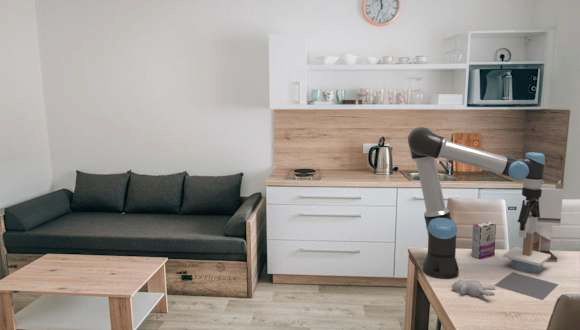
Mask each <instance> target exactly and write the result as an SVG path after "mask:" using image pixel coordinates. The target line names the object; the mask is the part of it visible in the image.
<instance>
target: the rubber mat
mask: <svg viewBox="0 0 580 330" xmlns="http://www.w3.org/2000/svg"><path fill="white" fill-rule="evenodd" d="M559 285H560V284H558V283H555V282H552V281H547V280H543V279H540V278H537V277H532V276H529V275H526V274H522V273H518V272H513V271H511V273H509V274H508V275H506V276H505V277H504V278H502V279H501V280H499V281H498V282H497V283H495V284H494V287H498V288H502V289H504V290H507V291H510V292H515V293H516V294H517V293H518V294H520V295H525V296H528V297H532V298H534V299H536V300H537V299H538V300H541V301H543V300H545V299H546V298H547V297H548V295H550V294H551V293H552V292H553V291H554V290H555V289H556V288H557V287H558V286H559Z"/></svg>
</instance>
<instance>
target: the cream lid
mask: <svg viewBox="0 0 580 330" xmlns="http://www.w3.org/2000/svg"><path fill="white" fill-rule="evenodd" d="M533 234H534V233H529V232H526V238H522V239H523V243H522V247H518V246H514V247H512V248H511V249H510V250H508V251H507V252H505V253H504V254H503V255H502V257H503V258H505V259H509V260H511V259H513V260H517V261H521V262H525V263H529V264H533V265H537V266H541V265H542V266H543V264H544V263H545V262H546V261H547V260H548V259H549V258H550V257H551V255H550V254H546V253H541V252H537V251H532V246H533Z"/></svg>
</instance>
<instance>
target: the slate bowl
mask: <svg viewBox="0 0 580 330" xmlns="http://www.w3.org/2000/svg"><path fill="white" fill-rule="evenodd" d="M510 265H511V267H512V268H513V269H515V270H518V271H521V272H525V273H540V272H542V269H543V264H542V265H541V266H537V265H533V264H529V263H525V262H521V261H517V260H513V259H510Z"/></svg>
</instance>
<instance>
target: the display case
mask: <svg viewBox="0 0 580 330" xmlns="http://www.w3.org/2000/svg"><path fill="white" fill-rule="evenodd" d="M540 189H541V190H542V194H541V197H540V198H539V211H540V218H539V217H537V218H538V219H537V229H536V232H534V231H530V230H529V228H530V218H531V217H533V216H532V215H531V211H530V214H529V217H528V219H527V222H526V223H527V230H526V232H529V233H534V234H533V246H532V251H537V252H541V253H546V254H550V255H551V257H550V258H549V259H548V260H547V261H545V262H548V263H557V262H558V257H557V256H555V254H554V253H552V252H551V242H552V234H553V232H552V231H553V226H559V227H560V226H561V221H562V220H561V218H562V209H563V208H562V207H563V198H564V197H563V196H564V189H563V188H556V185H555V184H542V188H540Z"/></svg>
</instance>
